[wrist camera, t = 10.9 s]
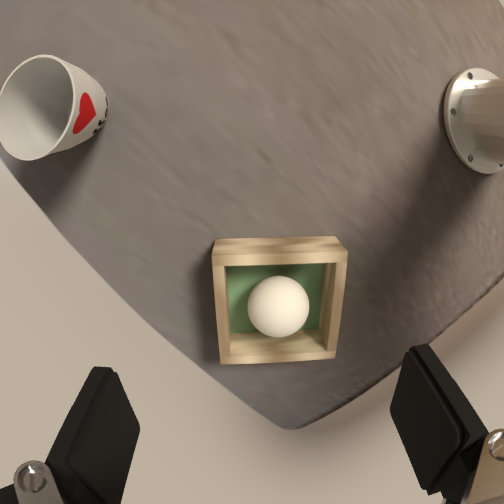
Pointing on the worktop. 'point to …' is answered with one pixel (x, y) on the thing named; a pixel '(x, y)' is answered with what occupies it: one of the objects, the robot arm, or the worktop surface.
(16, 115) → the cup
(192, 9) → the worktop surface
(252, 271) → the wooden square tray
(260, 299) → the ball
